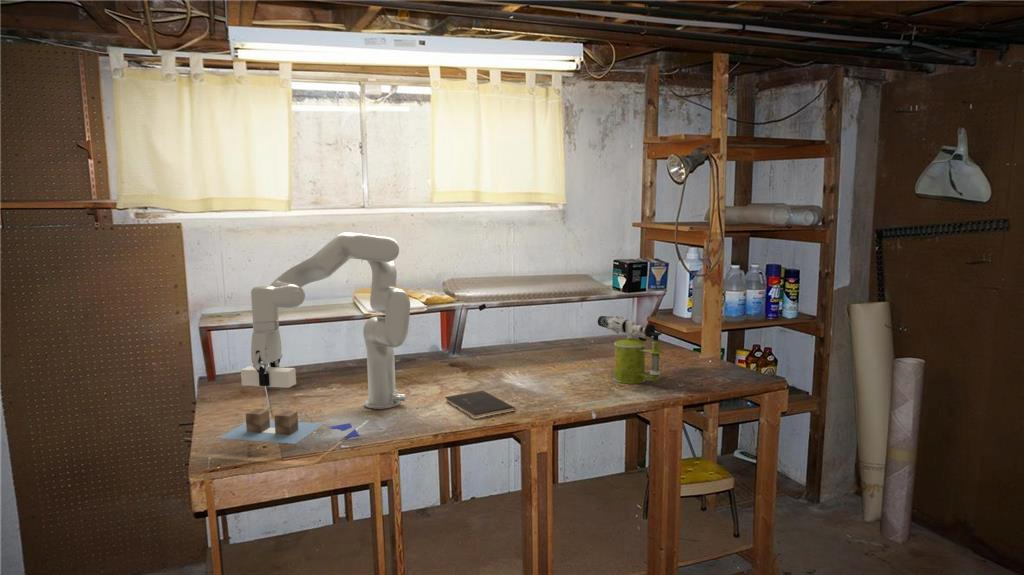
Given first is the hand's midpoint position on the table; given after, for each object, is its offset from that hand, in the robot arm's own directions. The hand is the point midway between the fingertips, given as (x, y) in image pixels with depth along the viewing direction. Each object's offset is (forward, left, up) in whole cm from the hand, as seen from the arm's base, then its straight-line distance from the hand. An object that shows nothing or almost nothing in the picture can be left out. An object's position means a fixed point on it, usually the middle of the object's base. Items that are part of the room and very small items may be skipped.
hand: (269, 382), depth 212 cm
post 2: (-5, 0, -16) cm, 16 cm away
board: (0, 0, -17) cm, 17 cm away
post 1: (+5, 0, -16) cm, 16 cm away
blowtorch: (-107, -83, -17) cm, 137 cm away
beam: (0, 0, -1) cm, 1 cm away
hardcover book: (-57, -39, -17) cm, 71 cm away
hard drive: (-22, -4, -17) cm, 28 cm away
